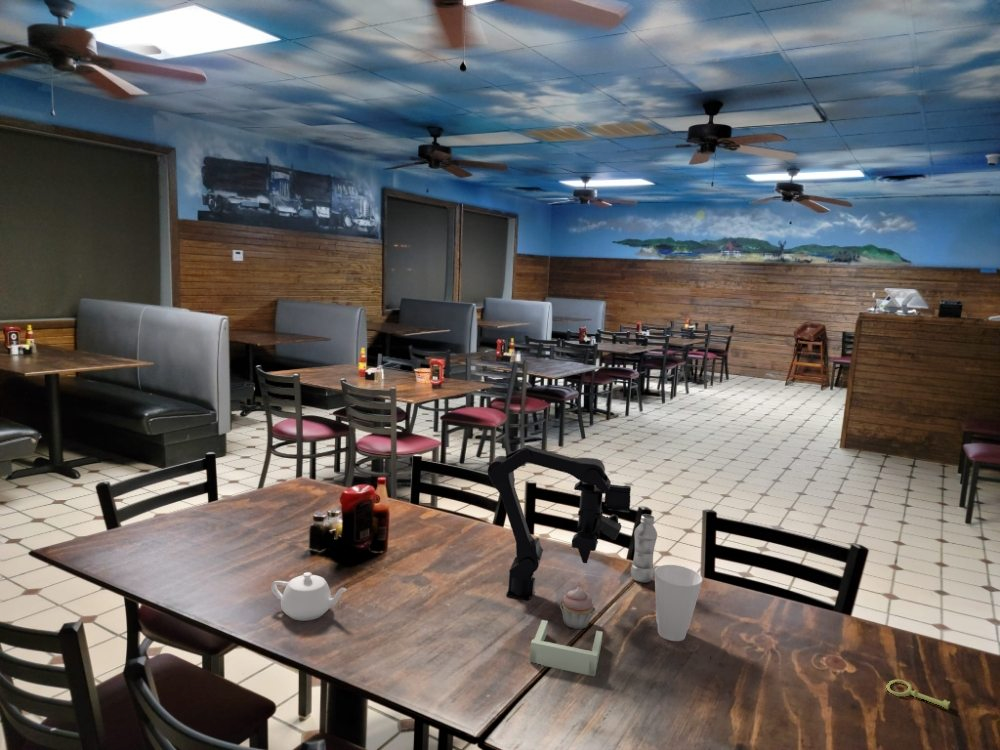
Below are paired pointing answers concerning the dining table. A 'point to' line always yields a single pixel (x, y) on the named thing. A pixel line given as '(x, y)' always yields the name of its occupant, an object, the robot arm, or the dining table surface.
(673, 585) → the cup
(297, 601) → the teapot
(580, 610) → the cupcake
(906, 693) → the key
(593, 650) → the pocket
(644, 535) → the plastic bottle
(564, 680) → the dining table surface
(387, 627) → the dining table surface
